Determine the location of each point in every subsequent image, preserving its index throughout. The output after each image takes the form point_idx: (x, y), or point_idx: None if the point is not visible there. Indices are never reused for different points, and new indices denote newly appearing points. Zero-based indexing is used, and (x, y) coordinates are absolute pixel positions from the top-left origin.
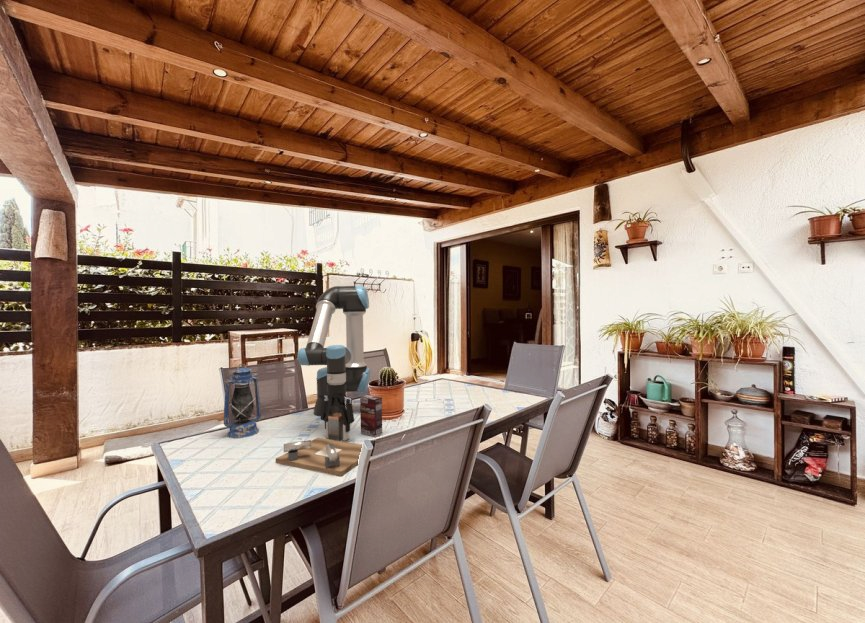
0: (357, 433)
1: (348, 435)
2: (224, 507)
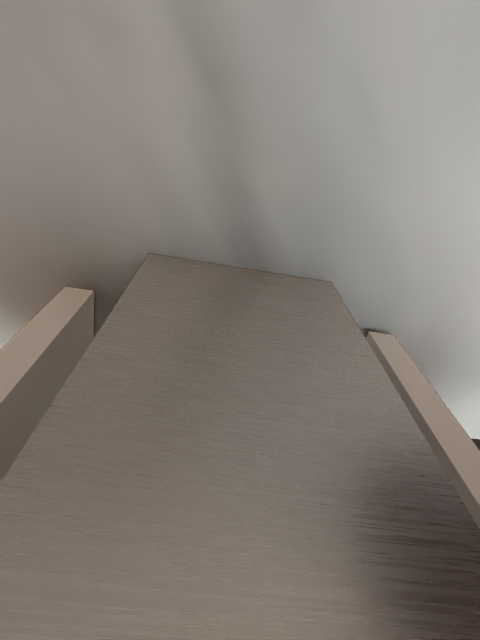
0: (472, 31)
1: (411, 368)
2: None
